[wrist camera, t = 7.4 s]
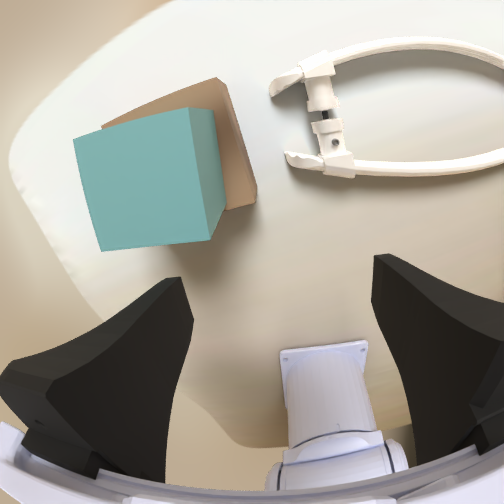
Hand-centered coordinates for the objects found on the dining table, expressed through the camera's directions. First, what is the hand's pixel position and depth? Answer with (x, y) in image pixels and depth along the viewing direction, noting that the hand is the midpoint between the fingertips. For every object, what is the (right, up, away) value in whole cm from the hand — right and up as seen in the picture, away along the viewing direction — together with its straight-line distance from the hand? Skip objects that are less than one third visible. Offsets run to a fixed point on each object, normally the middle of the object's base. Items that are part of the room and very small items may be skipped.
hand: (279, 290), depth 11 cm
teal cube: (-5, +6, +4) cm, 9 cm away
